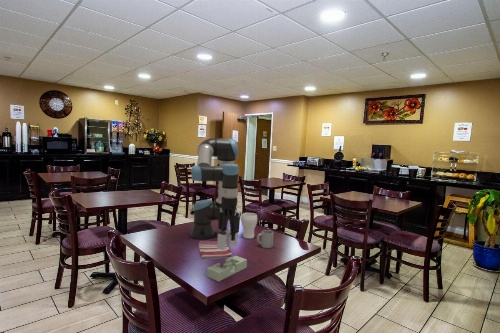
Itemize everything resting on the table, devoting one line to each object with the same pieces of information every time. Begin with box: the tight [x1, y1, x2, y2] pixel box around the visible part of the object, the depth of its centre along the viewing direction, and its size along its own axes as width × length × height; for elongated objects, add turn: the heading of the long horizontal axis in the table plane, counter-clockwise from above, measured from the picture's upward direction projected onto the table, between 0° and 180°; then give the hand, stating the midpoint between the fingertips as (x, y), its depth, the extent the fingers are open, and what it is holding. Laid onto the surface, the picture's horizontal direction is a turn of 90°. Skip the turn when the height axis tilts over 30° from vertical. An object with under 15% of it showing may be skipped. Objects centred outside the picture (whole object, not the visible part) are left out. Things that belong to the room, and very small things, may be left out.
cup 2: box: [256, 229, 275, 249], centre depth 171 cm, size 7×10×9 cm
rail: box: [206, 255, 248, 282], centre depth 134 cm, size 20×7×4 cm, turn 142°
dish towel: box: [197, 240, 233, 260], centre depth 161 cm, size 17×23×3 cm
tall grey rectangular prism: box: [217, 229, 239, 250], centre depth 133 cm, size 10×4×7 cm, turn 142°
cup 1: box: [240, 212, 258, 239], centre depth 187 cm, size 11×11×15 cm
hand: (227, 245), depth 134 cm, fingers closed on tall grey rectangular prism, 4 cm apart
